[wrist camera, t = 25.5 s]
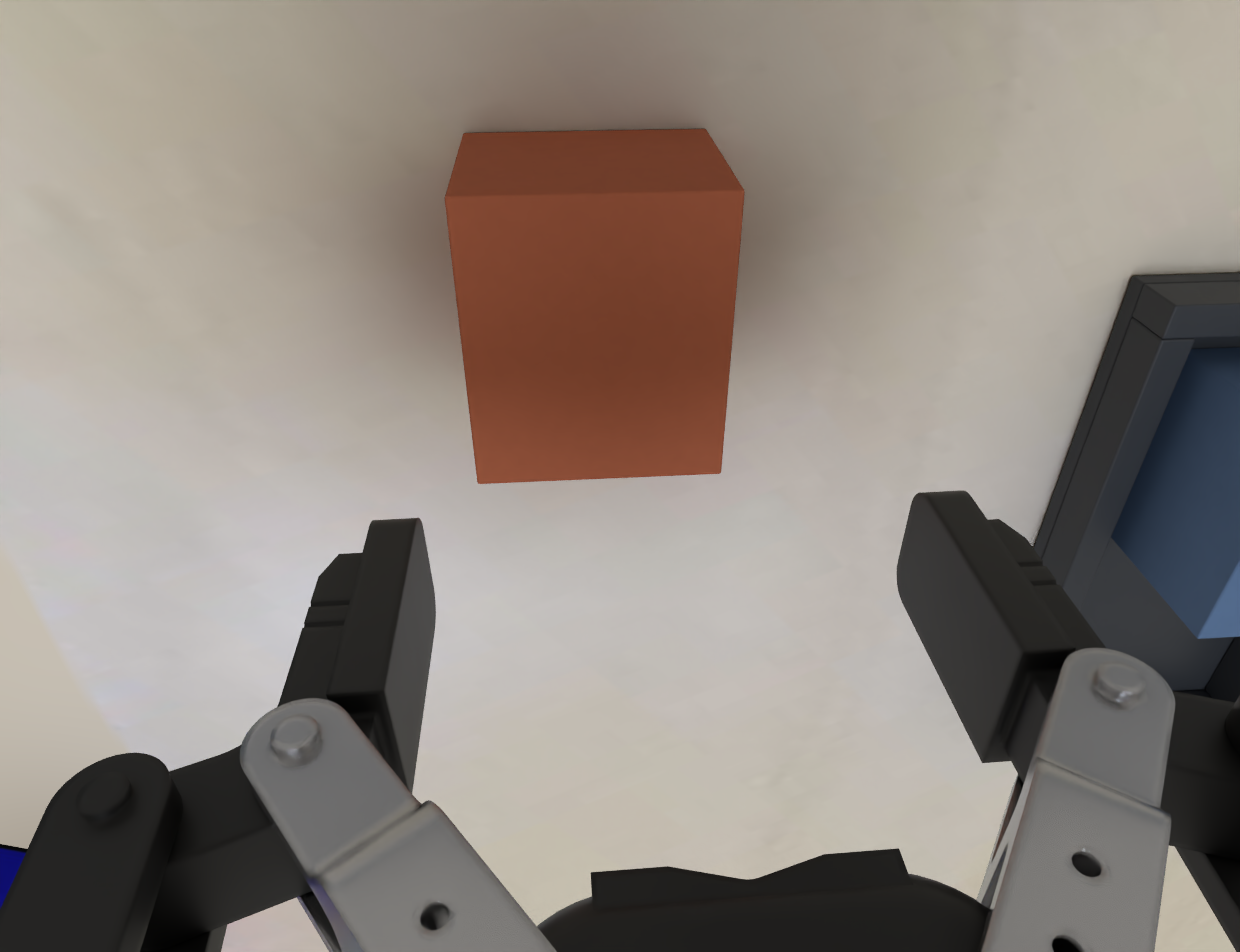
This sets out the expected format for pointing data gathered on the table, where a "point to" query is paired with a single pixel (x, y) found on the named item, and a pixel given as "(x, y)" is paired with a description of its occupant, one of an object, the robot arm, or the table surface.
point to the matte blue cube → (1192, 498)
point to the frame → (1108, 466)
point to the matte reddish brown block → (595, 300)
